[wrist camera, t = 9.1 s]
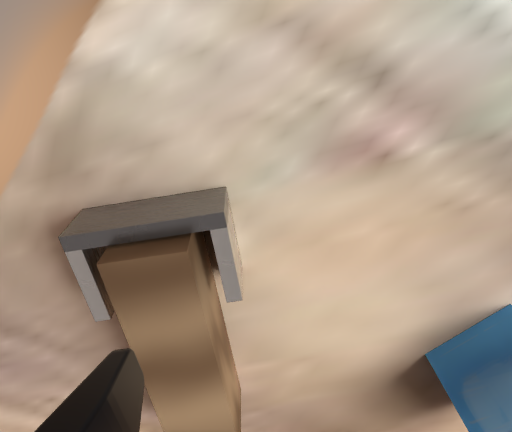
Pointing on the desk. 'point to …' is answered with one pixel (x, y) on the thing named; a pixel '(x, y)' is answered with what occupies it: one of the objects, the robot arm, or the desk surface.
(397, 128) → the desk surface
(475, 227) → the desk surface
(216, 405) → the rail
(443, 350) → the perfume bottle
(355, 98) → the desk surface
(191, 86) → the desk surface
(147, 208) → the bracket
